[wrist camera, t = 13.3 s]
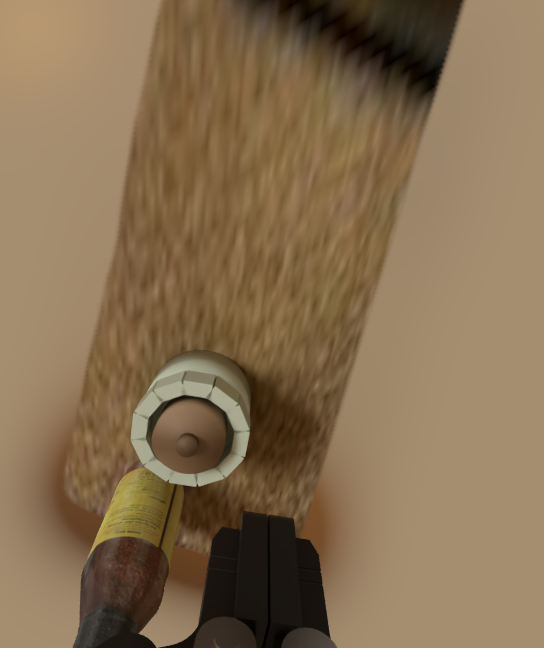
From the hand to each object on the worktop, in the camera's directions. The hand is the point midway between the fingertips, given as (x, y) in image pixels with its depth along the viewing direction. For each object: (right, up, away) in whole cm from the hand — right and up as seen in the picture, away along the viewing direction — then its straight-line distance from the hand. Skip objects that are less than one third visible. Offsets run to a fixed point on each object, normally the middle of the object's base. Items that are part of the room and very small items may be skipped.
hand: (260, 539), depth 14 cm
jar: (-6, 0, +30) cm, 31 cm away
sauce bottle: (-11, -9, +33) cm, 36 cm away
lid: (-6, -2, +26) cm, 26 cm away
